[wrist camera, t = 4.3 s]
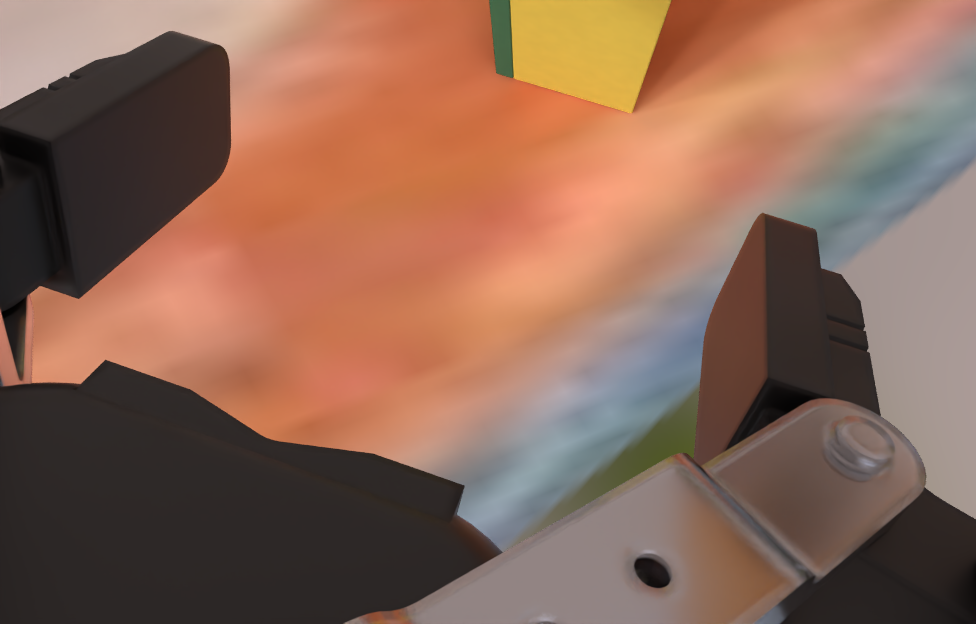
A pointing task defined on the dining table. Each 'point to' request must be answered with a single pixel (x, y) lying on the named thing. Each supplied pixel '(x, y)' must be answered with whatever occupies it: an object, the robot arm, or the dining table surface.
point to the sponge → (579, 45)
